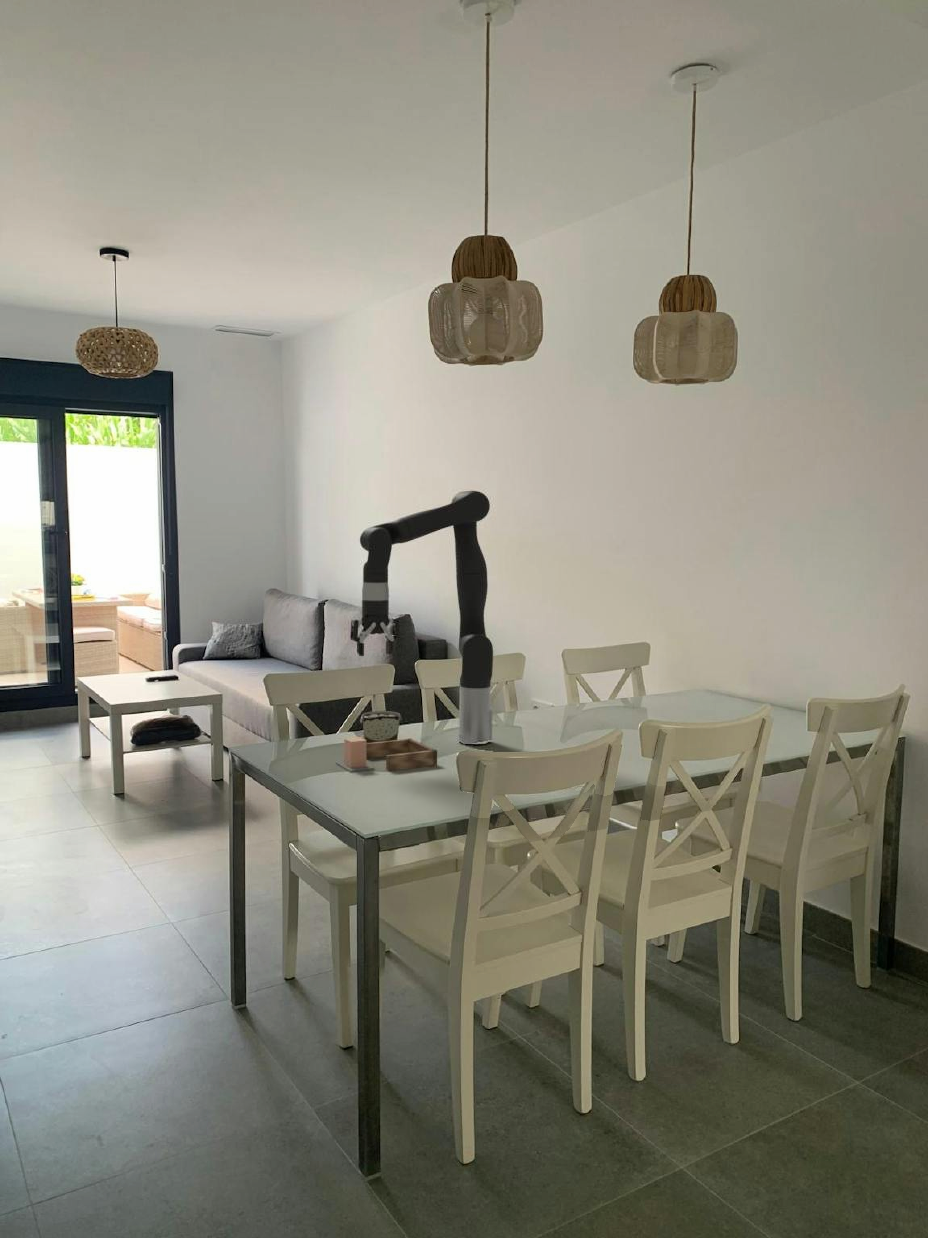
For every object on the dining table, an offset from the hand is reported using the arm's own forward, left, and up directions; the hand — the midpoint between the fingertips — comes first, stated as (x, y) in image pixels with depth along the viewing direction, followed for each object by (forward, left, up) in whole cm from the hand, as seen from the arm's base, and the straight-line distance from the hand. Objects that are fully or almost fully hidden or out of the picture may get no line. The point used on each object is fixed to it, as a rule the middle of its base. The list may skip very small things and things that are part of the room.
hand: (375, 655), depth 274 cm
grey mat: (+12, +13, -28) cm, 33 cm away
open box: (-1, +13, -28) cm, 31 cm away
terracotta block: (+11, +13, -28) cm, 33 cm away
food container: (-4, -6, -28) cm, 29 cm away
